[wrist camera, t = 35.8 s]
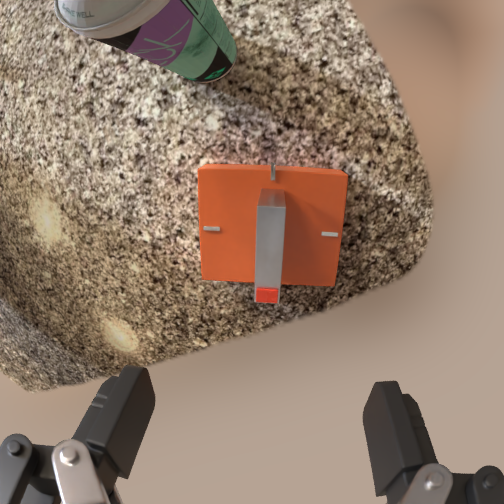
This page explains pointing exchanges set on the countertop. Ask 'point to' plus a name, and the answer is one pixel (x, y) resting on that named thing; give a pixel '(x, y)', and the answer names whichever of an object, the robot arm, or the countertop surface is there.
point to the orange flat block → (296, 221)
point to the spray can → (158, 32)
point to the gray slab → (269, 245)
